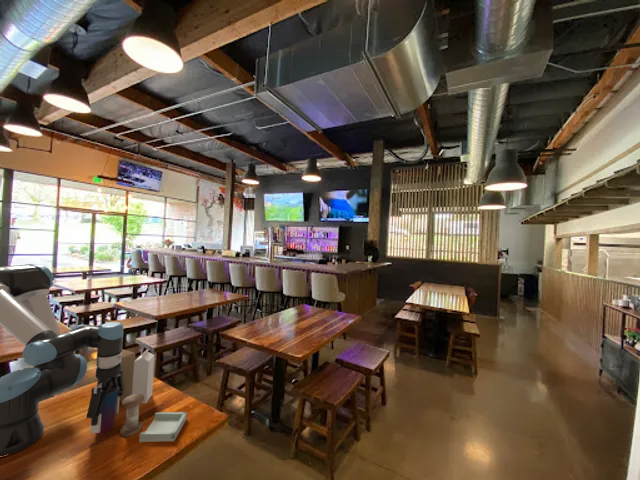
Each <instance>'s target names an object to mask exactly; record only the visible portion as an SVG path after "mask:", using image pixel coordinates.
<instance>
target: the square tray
mask: <svg viewBox="0 0 640 480" xmlns="http://www.w3.org/2000/svg"><path fill="white" fill-rule="evenodd" d="M187 416H188V412H187V411H172V412H171V411H169V412H167V411H166V412H165V411H164V412H163V411H162V412H161V411H157V412H155V413H154V419H153V420H152V422H151V423H150V425H149V426H148V427H147V429H146V430H145V431H143V432H142V431H140V432H139V443H143V442H145V443H147V442H150V443H151V442H153V443H155V442H156V443H157V442H175V441H176V438H177V437H178V435H179V434H180V431H181V430H182V428H183V426H184V424H185V423H186V421H187V418H188V417H187Z"/></svg>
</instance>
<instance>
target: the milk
mask: <svg viewBox="0 0 640 480" xmlns="http://www.w3.org/2000/svg"><path fill="white" fill-rule="evenodd" d="M154 371H155V354H153V353H151V352H149V348H147V349H146V350H145V351H144V352H143V353H142V354H141V355H139V356H138V358H135V361H134V373H133V389H132V395H133V394H143V395H144V401H143V402H142V403H141V404H148V402H149V400H150V399H151V397H152V396H153V386H154V374H155V373H154Z"/></svg>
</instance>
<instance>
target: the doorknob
mask: <svg viewBox="0 0 640 480" xmlns="http://www.w3.org/2000/svg"><path fill="white" fill-rule="evenodd" d="M143 401H144V395H143V394H133V395H130V396H127V397H126V398H124V399H123V400H122V401H121V406H122V407H123V408H126V409H125V410H126V412H125V424H124V425H123V426H122V427H121V428H120V430H119V435H120V436H121V437H123V438H129V437H133V436H134V435H136V434H137V435H138V433H141V432H142V429H143V422H142V421H140V420H139V415H140V405H141V404H143V403H142V402H143Z"/></svg>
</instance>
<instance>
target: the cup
mask: <svg viewBox="0 0 640 480" xmlns="http://www.w3.org/2000/svg"><path fill="white" fill-rule="evenodd" d="M118 388H119V387H118V386H116V387H114V388H110V389H109V392H108V394H106V395H105V399H104V402H103V405H102V408H101V411H100V414H101V428H100V432H99V433H98V434H104V433H108V432H109V431H111V430H112V429H113V427H114V423H115V416H116V414H115V410H116V403H117V396H118ZM101 392H105V391H101Z"/></svg>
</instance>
